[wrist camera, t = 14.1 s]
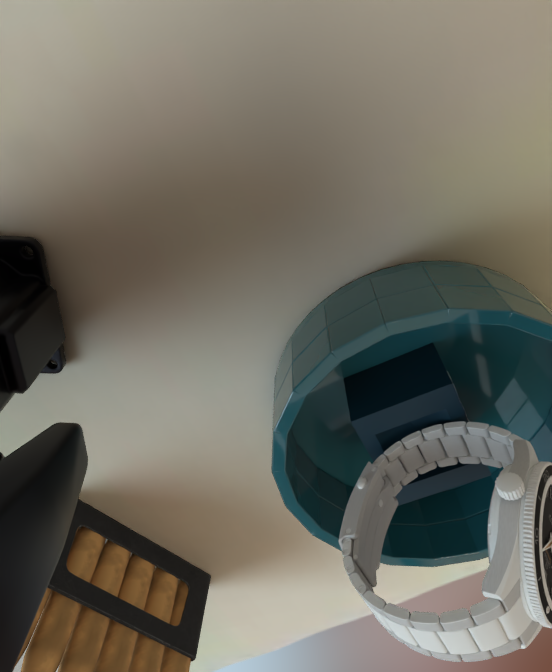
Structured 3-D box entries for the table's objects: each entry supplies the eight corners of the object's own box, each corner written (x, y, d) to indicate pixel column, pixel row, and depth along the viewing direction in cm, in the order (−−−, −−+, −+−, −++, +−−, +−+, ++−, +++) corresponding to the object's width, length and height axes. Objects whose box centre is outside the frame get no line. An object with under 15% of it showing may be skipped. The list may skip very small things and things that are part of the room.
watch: (509, 414, 24) (652, 651, 15) (355, 468, 26) (393, 709, 17) (475, 323, 22) (620, 536, 12) (308, 390, 24) (322, 620, 14)
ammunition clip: (48, 508, 29) (-84, 765, 19) (65, 492, 28) (-63, 750, 18) (193, 588, 33) (149, 842, 22) (211, 576, 32) (175, 832, 22)
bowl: (270, 489, 28) (267, 560, 24) (280, 253, 21) (278, 301, 17) (518, 498, 28) (555, 572, 24) (609, 267, 21) (682, 317, 17)
